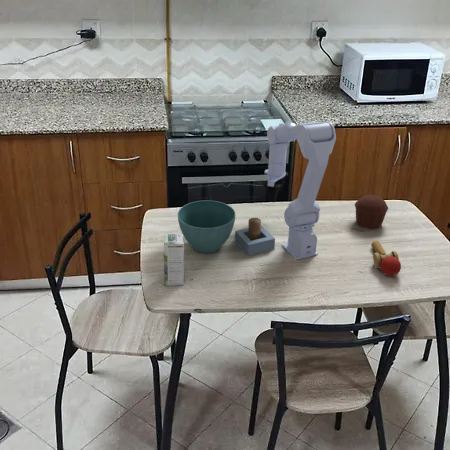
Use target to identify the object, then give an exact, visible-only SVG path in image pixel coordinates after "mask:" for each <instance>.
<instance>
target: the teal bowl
mask: <svg viewBox="0 0 450 450" xmlns="http://www.w3.org/2000/svg"><path fill="white" fill-rule="evenodd" d="M177 221H178V225H179V228H180V232H181V234H183V237H184V240H185V241H186V242H187V244H189V245H190V246H191V247H192V248H193V249H194V250H195V251H197V252H199V253H202V254H210V253H211V254H212V253H215V252H217V251H218V250H219V249H221V247H223V245H224V244H225V243H227V242H228V241H227V240H228V239H229V237H230V236H231V234H232V231H233V228H234V225H235V221H236V211H235V209H234V208H233V207H232V206H230V205H229V204H227V203H225V202H221V201H217V200H205V199H204V200H197V201H192V202H189V203H187V204H185V205H183V206H181V207H180V208H179V210H178V212H177Z"/></svg>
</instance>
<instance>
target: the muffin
mask: <svg viewBox="0 0 450 450" xmlns="http://www.w3.org/2000/svg"><path fill="white" fill-rule="evenodd" d="M354 207H355V221H356V223H357V226H360V227H362V228H363V229H369V230H375V229H380V227H381V226H382V225H383V223H384V220H385V216H386V214H387V212H388V210H389V207H388V205H387V202H386V201H385V200H384V198H382V197H381V196H378V195H375V194H367V195H364V196H362V197H360V198H359V199H357V201H356V202H355V203H354Z"/></svg>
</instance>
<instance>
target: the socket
mask: <svg viewBox="0 0 450 450" xmlns="http://www.w3.org/2000/svg"><path fill="white" fill-rule="evenodd" d="M234 242H235V243H236V244H237V246H239V248H240V249H241V250H242V251H243V252H244V253H245V254H246V255H247V256H252V255H256V254H260V253H264V252H265V253H266V252H268V251H272V250H275V245H276V238H275V237H274V236H273V235H272V234H271V233H270V232H269V230H267V229H266V228H265V227H263V225H261V239H257V240H252V241H251V240H250V239H249V238H248V227H245V228H241V229H238V230H237V229H236V230H235V231H234Z"/></svg>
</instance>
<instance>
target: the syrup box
mask: <svg viewBox="0 0 450 450" xmlns="http://www.w3.org/2000/svg"><path fill="white" fill-rule="evenodd" d="M184 241H185V237H184V236H183V234H182V233H165V234H163V269H164V270H163V275H164V286H166V287H167V286H170V287H171V286H184V284H185V244H184V243H185V242H184Z"/></svg>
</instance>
